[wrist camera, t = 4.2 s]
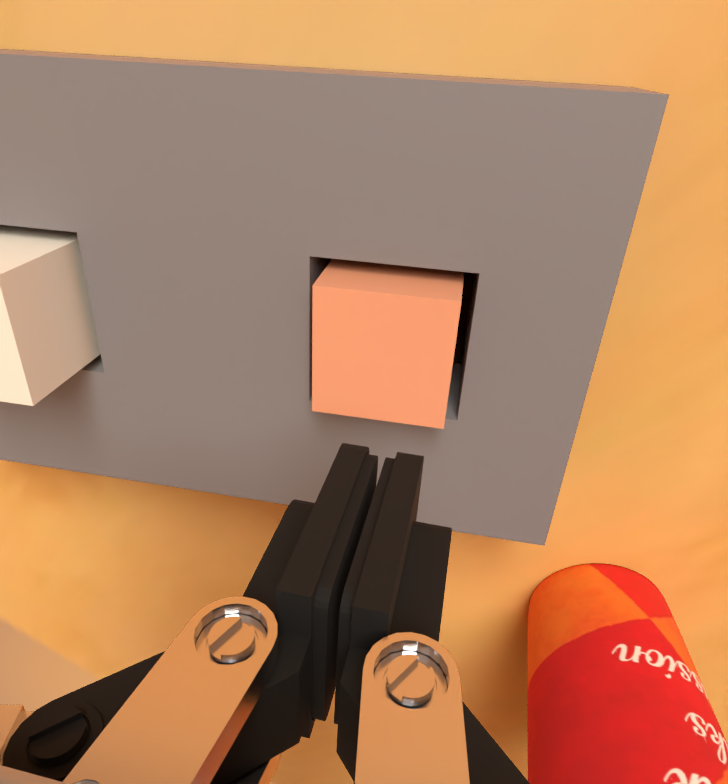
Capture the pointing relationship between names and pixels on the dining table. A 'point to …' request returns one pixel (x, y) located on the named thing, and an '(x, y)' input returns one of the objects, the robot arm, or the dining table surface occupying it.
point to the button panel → (319, 265)
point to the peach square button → (384, 341)
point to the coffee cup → (614, 686)
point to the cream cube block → (42, 313)
